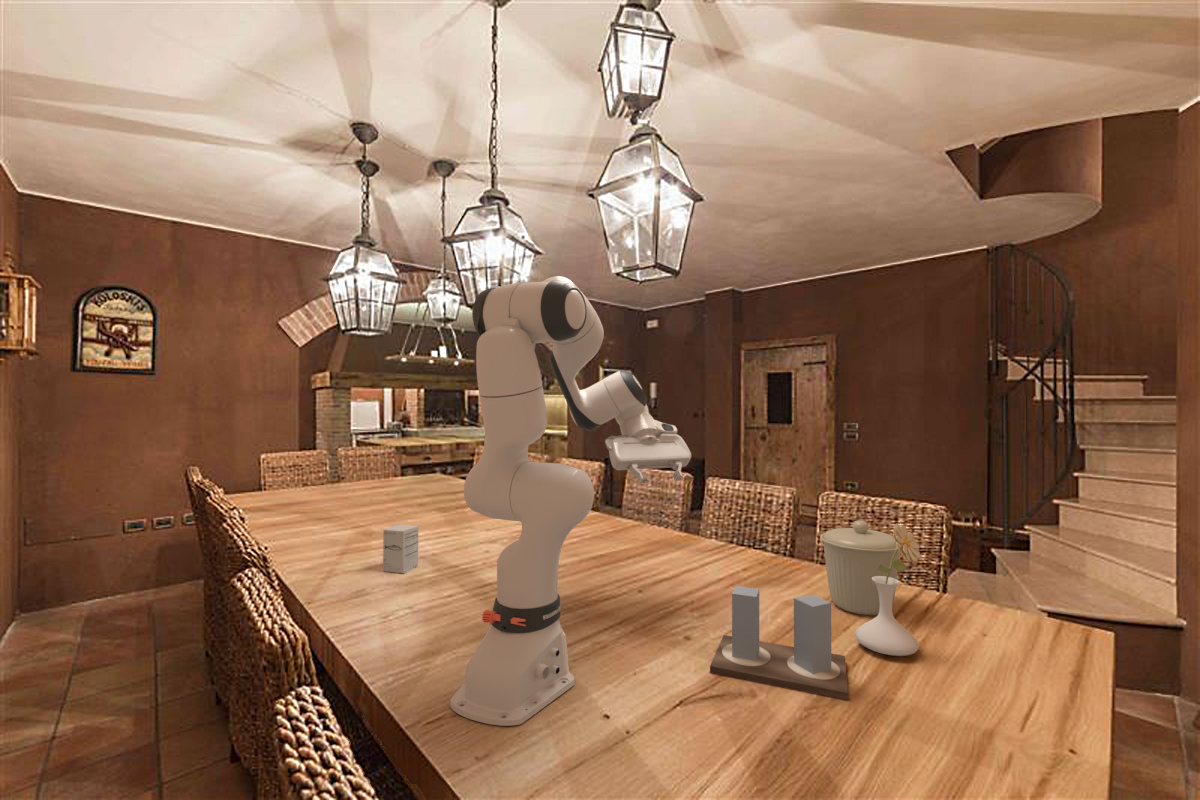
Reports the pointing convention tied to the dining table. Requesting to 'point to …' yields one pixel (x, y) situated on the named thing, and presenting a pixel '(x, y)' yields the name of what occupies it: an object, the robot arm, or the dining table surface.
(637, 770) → the dining table surface
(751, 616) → the pin
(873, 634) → the flower in vase
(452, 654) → the dining table surface
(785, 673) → the board
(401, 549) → the supplement box
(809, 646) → the gray rectangular block
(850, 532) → the canister
